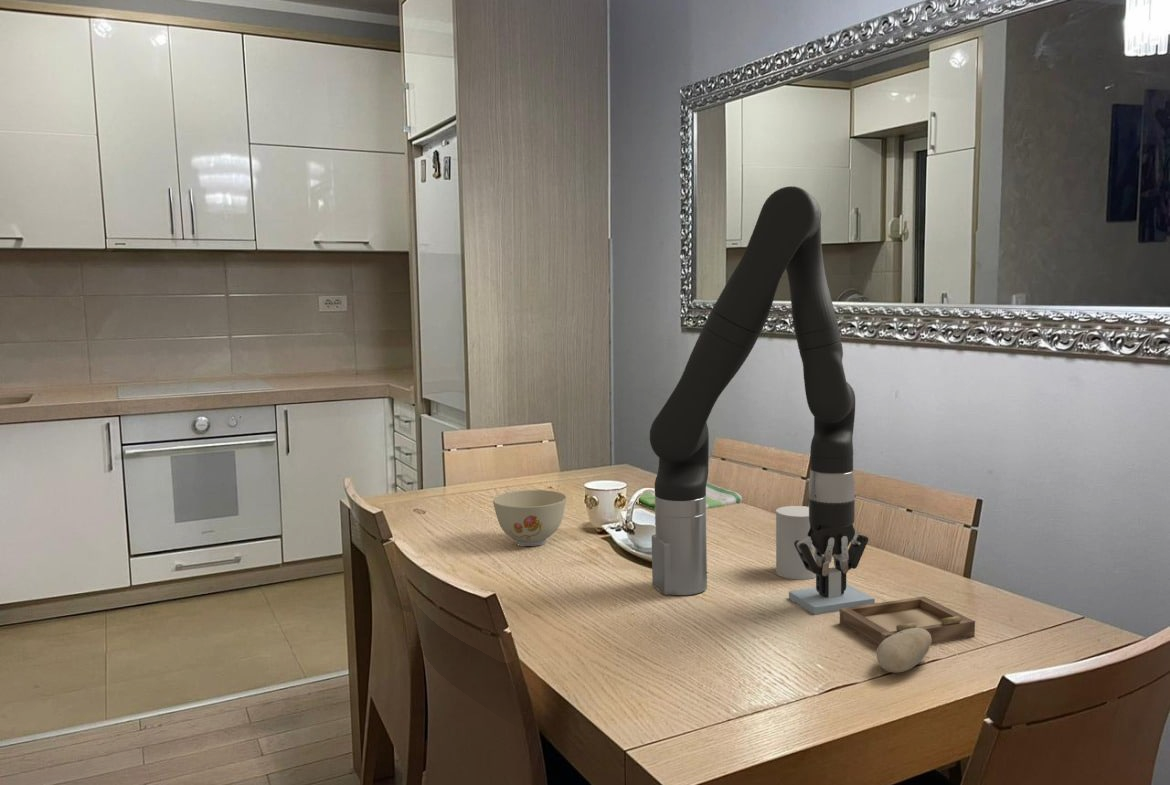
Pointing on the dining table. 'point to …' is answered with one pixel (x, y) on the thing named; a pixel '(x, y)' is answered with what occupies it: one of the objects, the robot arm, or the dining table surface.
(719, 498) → the dish towel
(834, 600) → the panel with block handle
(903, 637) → the stone
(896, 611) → the cabinet frame
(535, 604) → the dining table surface
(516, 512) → the bowl
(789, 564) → the grey upright cylinder
